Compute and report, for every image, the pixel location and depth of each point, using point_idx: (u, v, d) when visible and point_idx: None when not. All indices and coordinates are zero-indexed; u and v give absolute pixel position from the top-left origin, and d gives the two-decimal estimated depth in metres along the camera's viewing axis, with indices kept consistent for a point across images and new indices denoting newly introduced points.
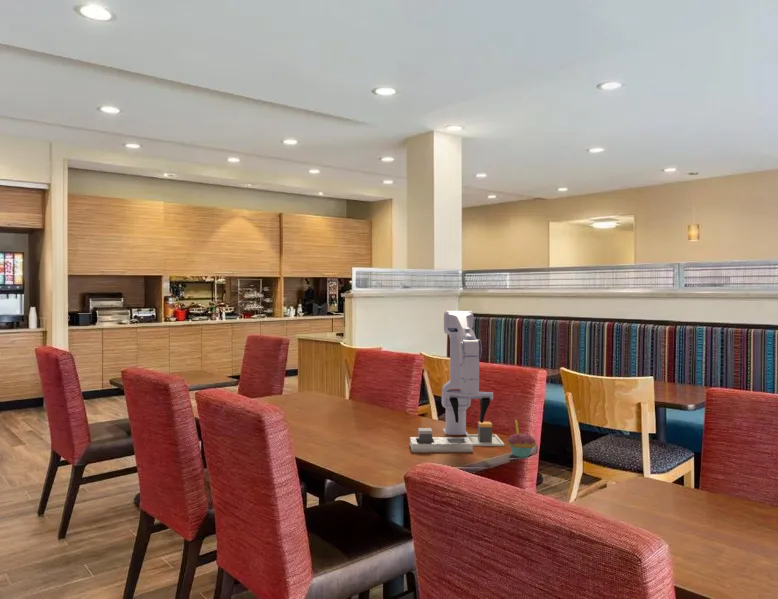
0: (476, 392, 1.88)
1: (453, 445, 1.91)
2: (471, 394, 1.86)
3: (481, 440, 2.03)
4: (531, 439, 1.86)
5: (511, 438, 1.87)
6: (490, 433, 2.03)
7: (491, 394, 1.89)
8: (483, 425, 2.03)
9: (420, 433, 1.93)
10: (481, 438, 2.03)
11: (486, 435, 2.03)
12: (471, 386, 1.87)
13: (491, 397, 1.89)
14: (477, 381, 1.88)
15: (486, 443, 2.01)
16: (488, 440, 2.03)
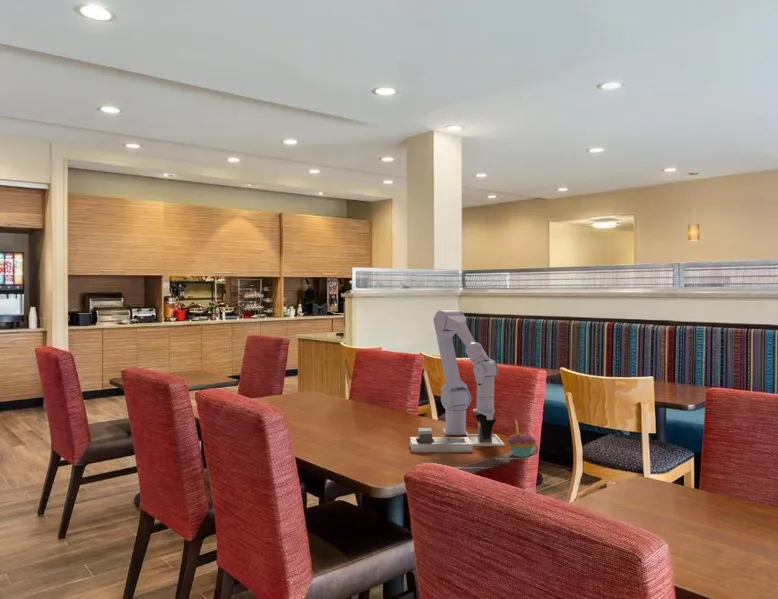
0: (480, 409, 2.03)
1: (453, 445, 1.91)
2: (475, 409, 2.04)
3: (481, 440, 2.03)
4: (531, 439, 1.86)
5: (511, 438, 1.87)
6: None
7: (486, 414, 1.98)
8: None
9: (420, 433, 1.93)
10: (481, 438, 2.03)
11: None
12: None
13: (486, 417, 1.98)
14: (481, 399, 2.02)
15: (486, 443, 2.01)
16: (488, 440, 2.03)
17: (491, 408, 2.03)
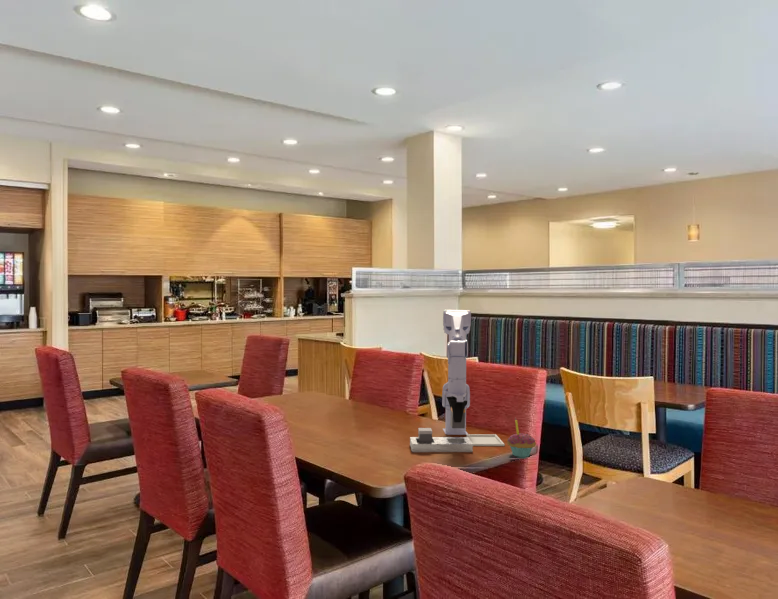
0: (451, 391, 1.93)
1: (453, 445, 1.91)
2: (446, 391, 1.95)
3: (453, 426, 1.93)
4: (531, 439, 1.86)
5: (511, 438, 1.87)
6: (462, 418, 1.93)
7: (456, 396, 1.88)
8: None
9: (420, 433, 1.93)
10: (453, 424, 1.93)
11: None
12: (448, 384, 1.95)
13: (456, 399, 1.88)
14: (452, 381, 1.93)
15: (486, 443, 2.01)
16: (461, 426, 1.93)
17: (463, 390, 1.93)
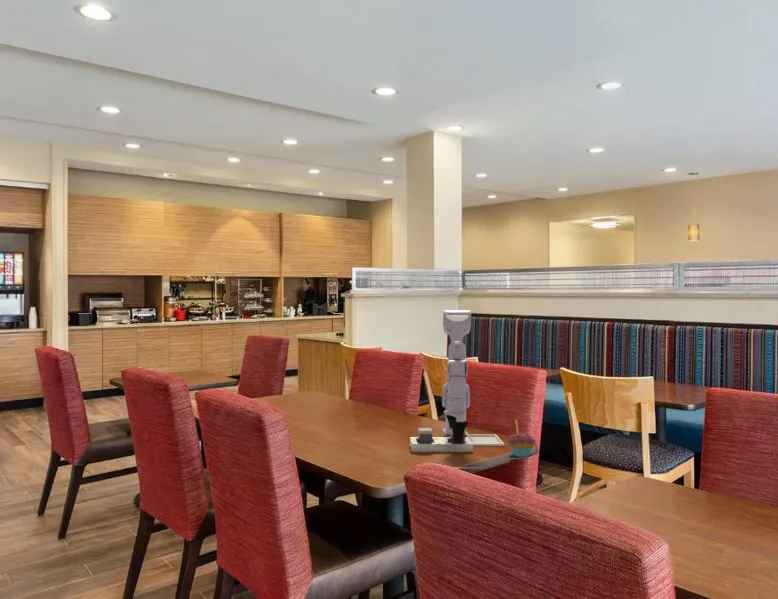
0: (450, 411, 1.93)
1: (453, 445, 1.91)
2: (445, 411, 1.95)
3: None
4: (531, 439, 1.86)
5: (511, 438, 1.87)
6: (462, 440, 1.93)
7: (456, 416, 1.88)
8: None
9: (420, 433, 1.93)
10: None
11: None
12: (447, 404, 1.95)
13: (456, 419, 1.88)
14: (452, 400, 1.93)
15: (486, 443, 2.01)
16: None
17: (462, 410, 1.93)
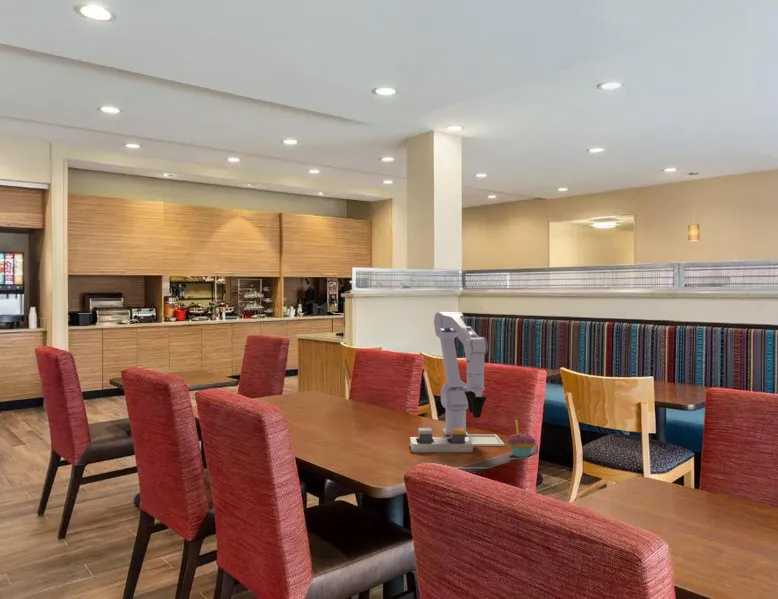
0: (469, 386, 2.00)
1: (453, 445, 1.91)
2: (464, 387, 2.01)
3: None
4: (531, 439, 1.86)
5: (511, 438, 1.87)
6: (462, 440, 1.93)
7: (475, 391, 1.95)
8: (455, 432, 1.93)
9: (420, 433, 1.93)
10: None
11: (458, 442, 1.93)
12: None
13: (475, 394, 1.95)
14: (471, 376, 1.99)
15: (486, 443, 2.01)
16: None
17: (481, 386, 1.99)
